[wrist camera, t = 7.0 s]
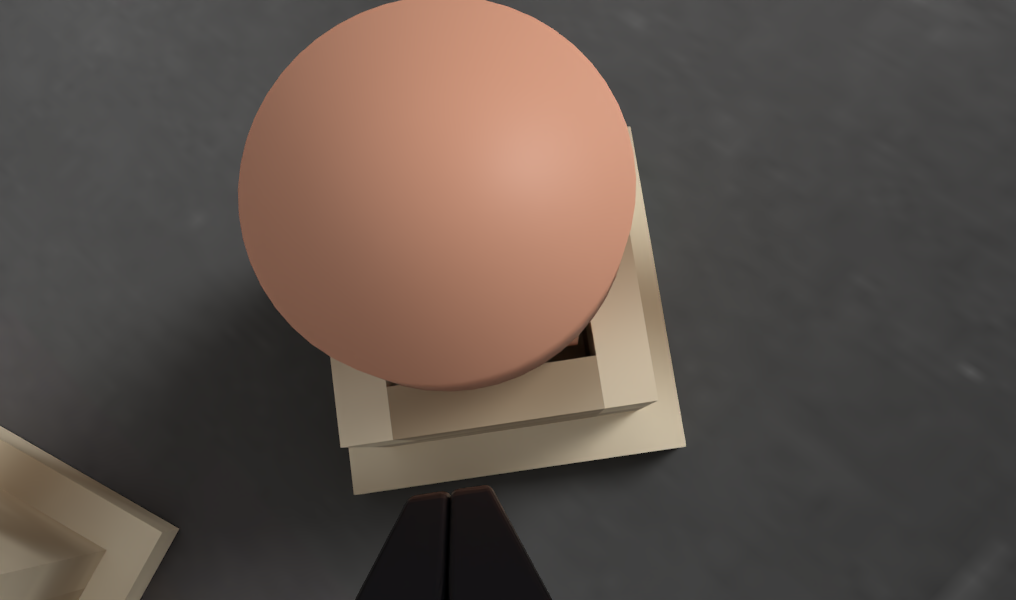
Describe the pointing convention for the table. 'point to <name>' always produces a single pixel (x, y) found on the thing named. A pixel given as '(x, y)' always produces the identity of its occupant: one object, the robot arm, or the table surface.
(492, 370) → the terracotta plunger
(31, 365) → the table surface
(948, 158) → the table surface
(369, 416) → the cream square holder
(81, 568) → the beige square socket
